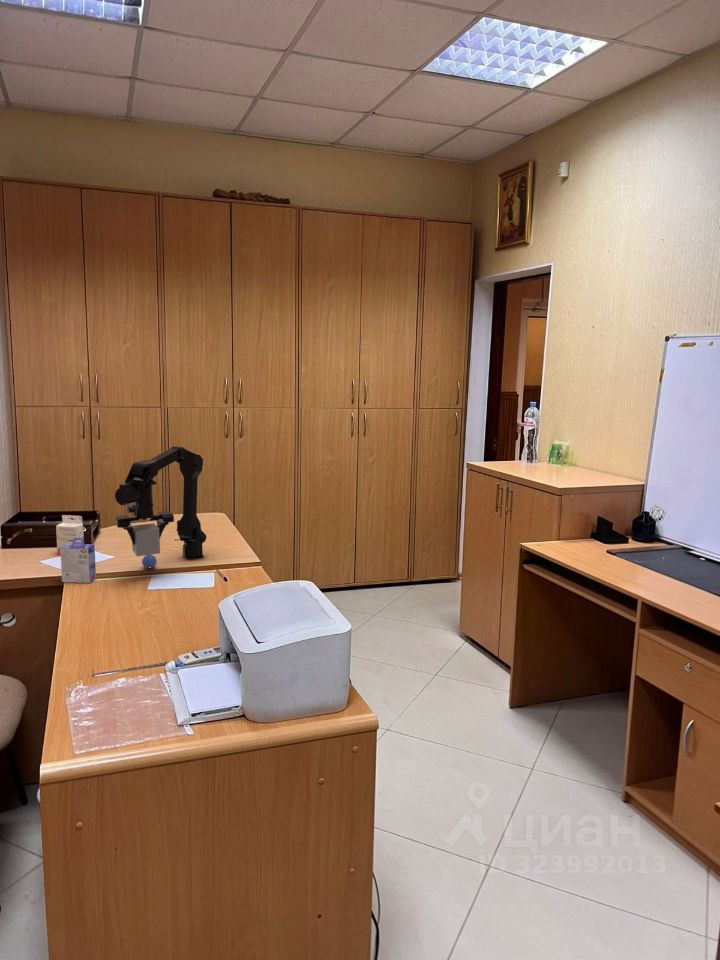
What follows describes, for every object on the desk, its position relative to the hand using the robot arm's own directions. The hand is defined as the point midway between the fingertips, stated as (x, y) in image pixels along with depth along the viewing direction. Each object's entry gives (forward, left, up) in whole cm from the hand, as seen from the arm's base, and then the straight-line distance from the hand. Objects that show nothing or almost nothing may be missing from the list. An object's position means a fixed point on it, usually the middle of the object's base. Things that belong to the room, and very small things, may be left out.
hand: (145, 543), depth 235 cm
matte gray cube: (0, 0, -3) cm, 3 cm away
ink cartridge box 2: (+21, -6, -12) cm, 25 cm away
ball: (-3, -8, -9) cm, 13 cm away
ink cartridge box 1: (+19, -38, -12) cm, 44 cm away
